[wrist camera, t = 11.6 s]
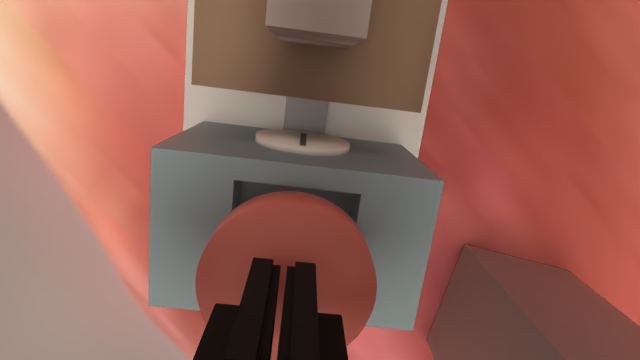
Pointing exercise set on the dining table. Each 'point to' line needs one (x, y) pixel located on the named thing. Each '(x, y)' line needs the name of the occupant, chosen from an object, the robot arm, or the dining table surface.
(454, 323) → the perfume bottle
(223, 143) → the end cabinet
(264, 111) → the rail bed
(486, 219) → the dining table surface
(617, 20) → the dining table surface
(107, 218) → the dining table surface
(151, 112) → the dining table surface
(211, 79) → the carriage
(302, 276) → the robot arm
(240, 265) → the button
